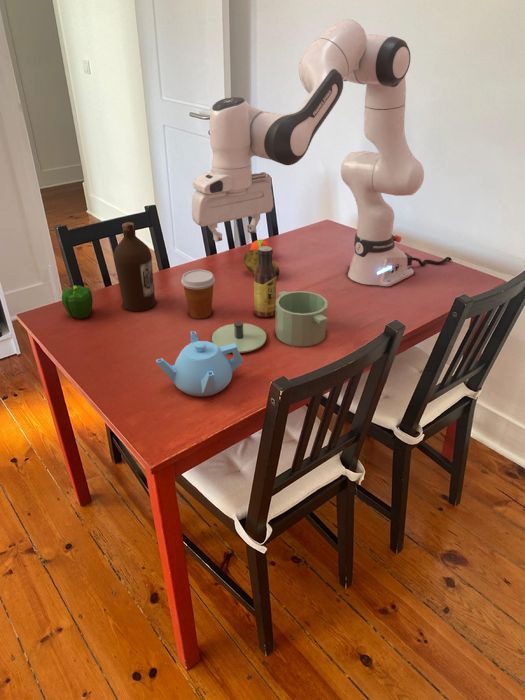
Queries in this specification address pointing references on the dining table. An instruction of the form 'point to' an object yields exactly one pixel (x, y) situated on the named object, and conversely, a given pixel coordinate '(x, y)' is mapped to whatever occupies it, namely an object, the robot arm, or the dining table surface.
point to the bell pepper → (77, 301)
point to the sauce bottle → (265, 284)
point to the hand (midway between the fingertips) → (235, 236)
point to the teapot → (202, 367)
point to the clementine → (258, 244)
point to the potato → (256, 261)
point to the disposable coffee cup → (198, 292)
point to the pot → (301, 318)
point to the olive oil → (134, 271)
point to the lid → (240, 336)
